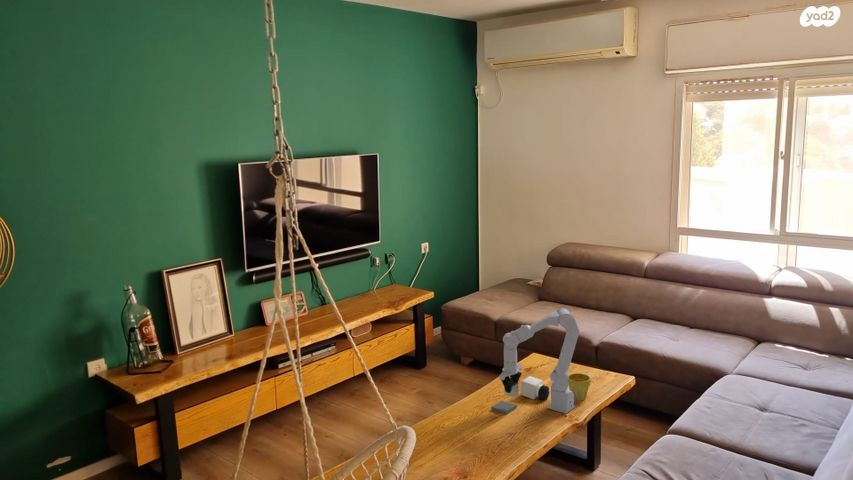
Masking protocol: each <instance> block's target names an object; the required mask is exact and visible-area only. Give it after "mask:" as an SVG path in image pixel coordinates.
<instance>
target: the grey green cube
mask: <svg viewBox="0 0 853 480" xmlns="http://www.w3.org/2000/svg"><path fill="white" fill-rule="evenodd" d="M519 383H520V382H518V383H516V382H512V383H511V391H510V393H507V392H505V388H504V387H503V389H504V396H506V397H510V398H515V397H516V396H517V395H519V393H520V392H519V391H520V390H519V389H520V388H519Z"/></svg>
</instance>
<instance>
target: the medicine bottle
mask: <svg viewBox="0 0 853 480" xmlns="http://www.w3.org/2000/svg"><path fill="white" fill-rule="evenodd" d="M543 382H544V381H543V380H542V379H540V378H536V377H534V376H532V375H529V376H527V377H526V378H524V379H522V380H521V386H520V388H521V389H520V395H521V396H523V397H526V398H528V399H531V400H536V399H537V398H539V399H542V400H544V401H545V400H547V399H548V398H550V397H549V396H551V387H550V386H547V385H545V384H544V383H543Z"/></svg>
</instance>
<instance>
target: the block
mask: <svg viewBox="0 0 853 480" xmlns="http://www.w3.org/2000/svg"><path fill="white" fill-rule="evenodd" d="M490 408H491V411H493V412H496V413H499V414H502V415H506V416H507V415H509V414H510V413H511V412H514V411H515V410H517V408H518V405H517V404H514V403H511V402H508V401H505V400H500V401H499V402H497V403H495V404H493V405H491V407H490Z"/></svg>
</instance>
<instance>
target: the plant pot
mask: <svg viewBox="0 0 853 480" xmlns="http://www.w3.org/2000/svg"><path fill="white" fill-rule="evenodd" d="M568 375H569V377H568V389H569V390H570V391H572V392H573V393H574V401H580V402H581V401H584V400H586V399H587V395H588V391H589V387H591V380H592V378H591V376H590V375H589V374H586V373H581V372H575V373H574V372H573V373H570V374H568Z"/></svg>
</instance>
